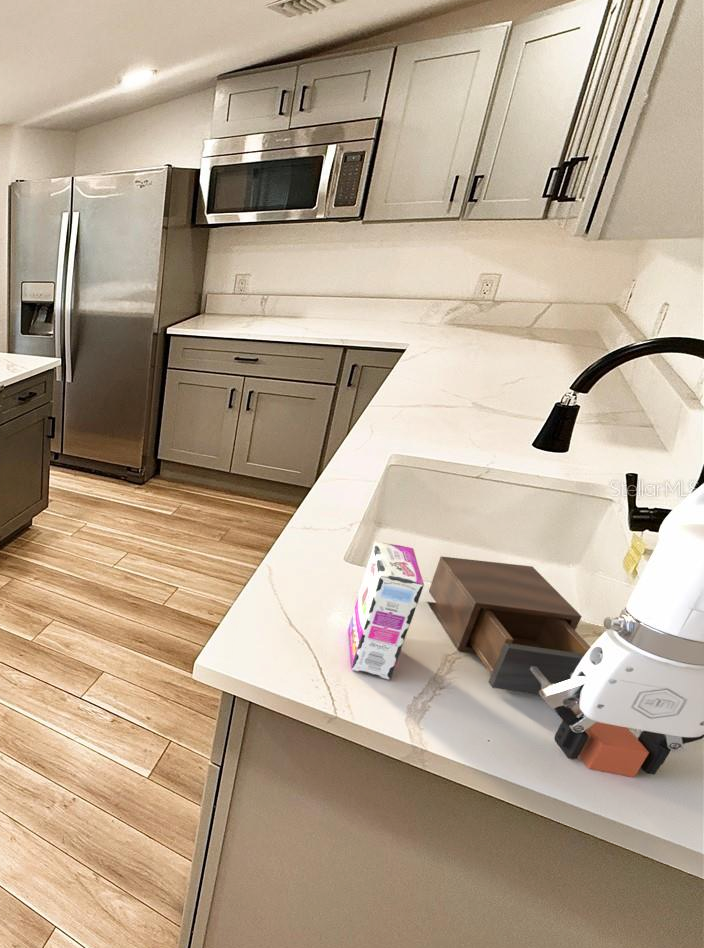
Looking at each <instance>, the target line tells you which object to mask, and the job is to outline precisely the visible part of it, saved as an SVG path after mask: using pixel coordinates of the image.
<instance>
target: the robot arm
mask: <svg viewBox="0 0 704 948" xmlns="http://www.w3.org/2000/svg"><path fill="white" fill-rule="evenodd" d="M657 535H658V536H657V537H658V542H657V544H656V546H655V548H654V549H653V551H652V553H651V555H650V557H649V560H648V561H647V564H646V566H645V567H644V570H643V571H642V573H641V576H640V578H639V579H638V581H637V583H636V585H635V587H634V589H633V591H632V593H631V595H630V597H629V598H628V601H627V603H626V605H625V607H624V609H622V610H621V612H620V614H619V616H616V617H605V618H604V620H603V627H604V628H605V629H606V630H605V631H604V632H603V633H602V634H601V635H600V636H599V637H598V638H597V639H596V640H595V641H594V643H593V644H592V645H591V646H590V649H589V650H588V651H587V652H586V654H585V655H584V657H583V658H582V659H581V661H580V663H579V664H578V666H577V667H576V669H575V671H574V673H573V674H572V676H571V678H570V680H567V681H564V682H561V683H558V684H555V685H553V686H550V687H547V688H544V689H541V690H540V691H539V694H540V695H541V696H540V697H541V698H542V699H543V700H544V702H545V703H546V704H547V705H548V706H549V708H551V709H552V710H553V711H554V712H555V713H556V715H557V716H558V717H559V718H560V719H561V723H560V725H559V726H558V729H557V730H556V733H555V734H554V742H555V743H556V745H557V746H558V747H559V748H560V749H561V751H562V752H563V753H564V755H565V756H566V758H567V759H568V760H569V759H571V760H576V759H578V758H580V756H579V755H580V753H581V751H582V749H583V747H584V745H585V743H586V742H587V740H588V734H587V733H586V732H585V730H587V729H588V728H590V727H591V726H593V725H594V724H596V723H597V722H600V723H604V724H610V725H615V726H620V727H626V728H628V729H632V730H638V731H641V732H640V734H639V736H638V737H637V739H638V740H639V741H640V743H641V744H642V745H643V746H644V747H645V748H646V749H647V751H648V752H649V754H648V755H647V757H646V759H645V760H644V762H643V764H642V765H641V767H640V769H641V770H642V771H643V772H644V773H645V774H647V775H653V776H655V775H656V774H657V773H658V770H659V769H660V767H661V766H663V764H664V763H665V762H666V760H667V758H668V756H669V755H670V753H671V751H680V750H682V749H683V747H684V745H685V744H689V743H692V742H697V741H700V740H703V739H704V482H703V483H702V484H701V485H700V486H699V487H697V488H696V489H694V490H693V491H692V492H691V493H690V494H688V495H687V496H686V497H684V499H683V500H681V501H680V502H679V503H678V504H677V505H676V506H675V507H674V508H673V509H672V510H671V511H670V512H669V513H668V515H667V516H666V517H665V518H664V519H663V521H662V523H661V524H660V526H659V530H658V533H657ZM571 697H575V698H576V699H575V700H574V701H570V702H569V703H568V704H566V703H565V702H564V701H566V700H565V699H568V698H571ZM580 714H581V715H580ZM579 715H580V716H579ZM578 716H579V717H578Z"/></svg>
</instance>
